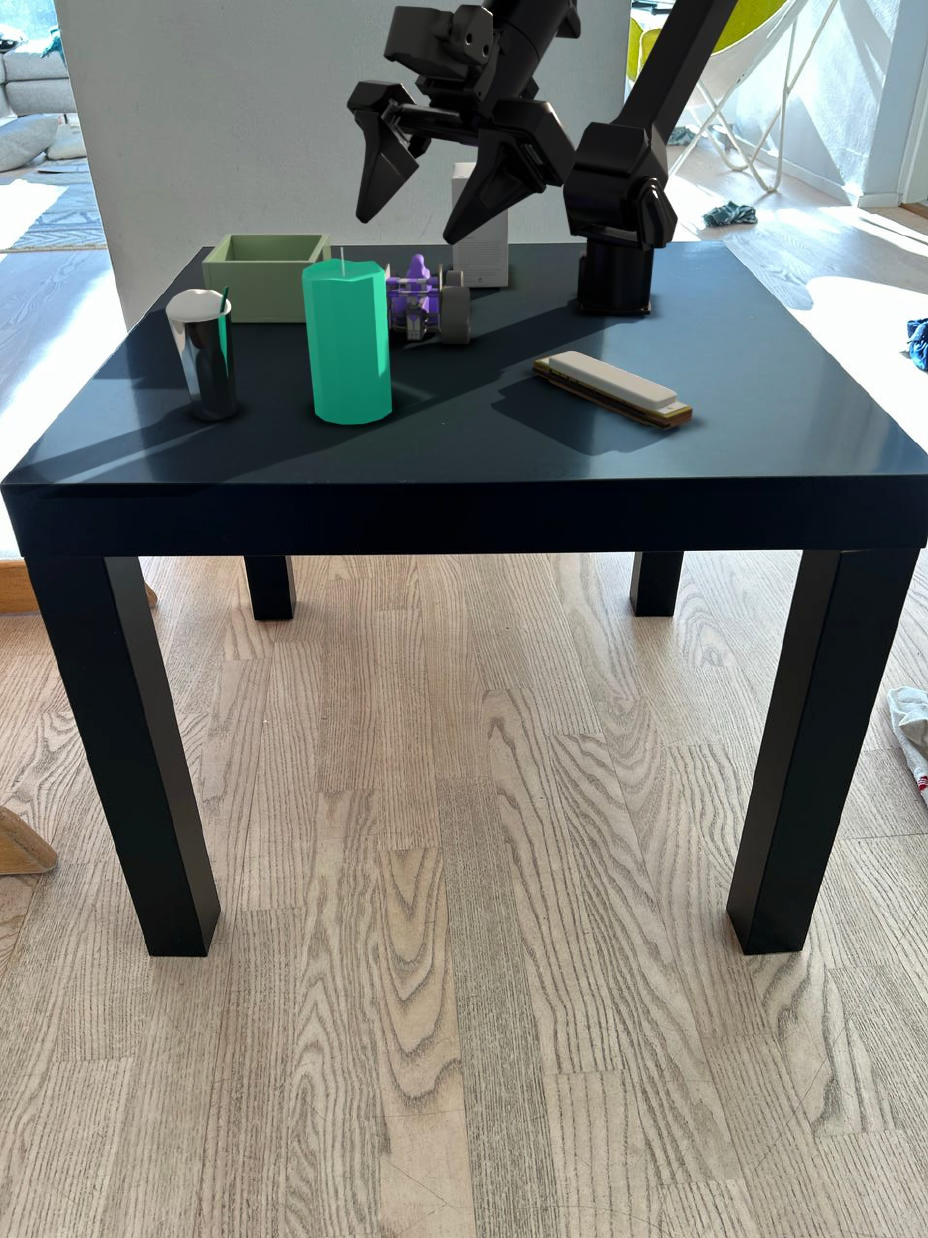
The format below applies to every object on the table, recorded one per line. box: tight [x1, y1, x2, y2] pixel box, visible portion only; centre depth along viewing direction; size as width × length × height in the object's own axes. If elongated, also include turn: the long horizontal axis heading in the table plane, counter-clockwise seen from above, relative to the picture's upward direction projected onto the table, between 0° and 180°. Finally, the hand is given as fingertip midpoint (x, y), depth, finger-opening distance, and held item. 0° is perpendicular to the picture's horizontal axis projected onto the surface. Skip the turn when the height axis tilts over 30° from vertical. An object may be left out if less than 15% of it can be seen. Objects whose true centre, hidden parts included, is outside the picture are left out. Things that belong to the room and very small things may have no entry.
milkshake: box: [165, 286, 238, 422], centre depth 73 cm, size 4×5×10 cm
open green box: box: [201, 233, 332, 324], centre depth 96 cm, size 10×10×6 cm
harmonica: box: [531, 350, 694, 431], centre depth 77 cm, size 15×3×2 cm, turn 37°
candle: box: [302, 246, 393, 425], centre depth 73 cm, size 6×6×12 cm
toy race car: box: [383, 253, 471, 345], centre depth 91 cm, size 10×15×6 cm, turn 178°
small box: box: [451, 161, 509, 288], centre depth 101 cm, size 8×6×10 cm
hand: (402, 230), depth 73 cm, fingers open, 9 cm apart
